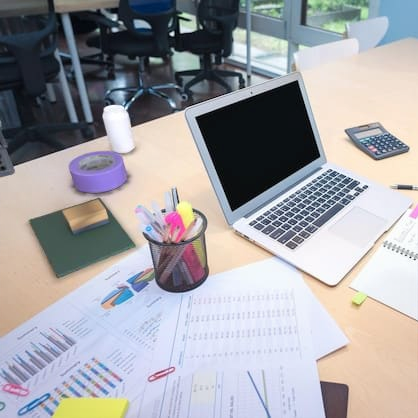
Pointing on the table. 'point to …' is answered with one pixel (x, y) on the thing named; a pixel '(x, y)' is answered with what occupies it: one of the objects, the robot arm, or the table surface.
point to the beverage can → (118, 129)
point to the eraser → (85, 216)
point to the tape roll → (98, 171)
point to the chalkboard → (79, 241)
